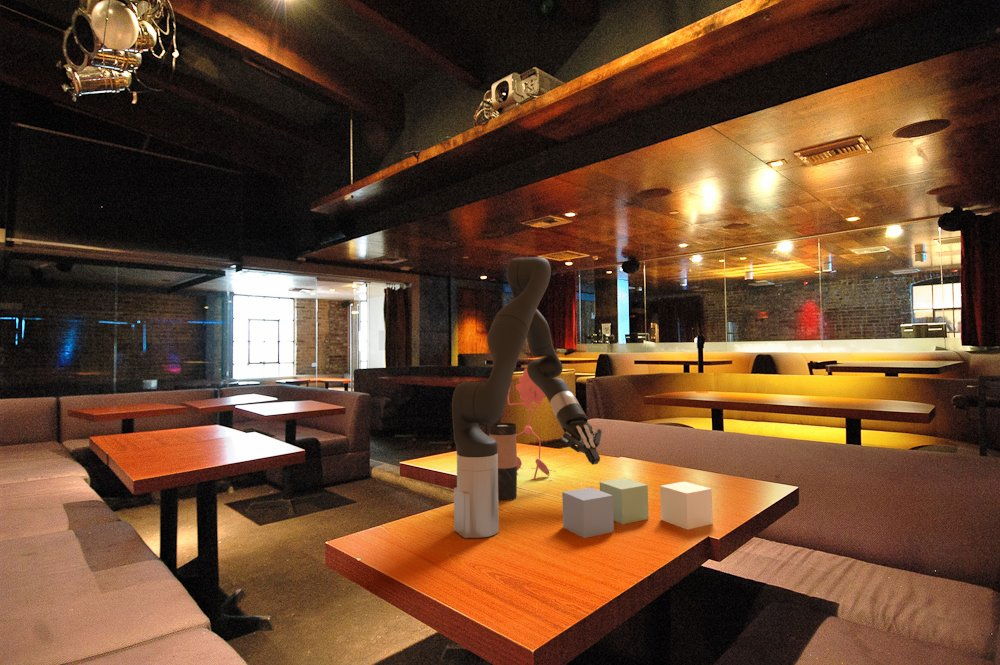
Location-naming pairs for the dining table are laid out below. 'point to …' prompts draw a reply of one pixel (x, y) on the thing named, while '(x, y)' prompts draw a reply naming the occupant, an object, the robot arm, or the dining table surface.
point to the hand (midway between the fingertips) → (596, 462)
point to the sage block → (627, 499)
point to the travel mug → (506, 459)
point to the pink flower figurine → (529, 395)
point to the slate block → (588, 512)
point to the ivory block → (686, 505)
